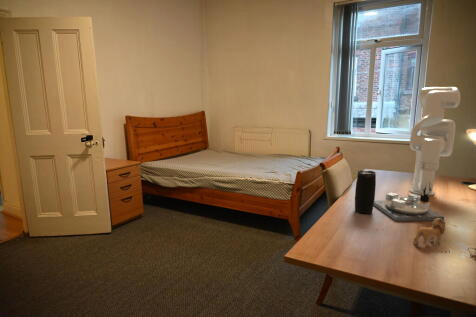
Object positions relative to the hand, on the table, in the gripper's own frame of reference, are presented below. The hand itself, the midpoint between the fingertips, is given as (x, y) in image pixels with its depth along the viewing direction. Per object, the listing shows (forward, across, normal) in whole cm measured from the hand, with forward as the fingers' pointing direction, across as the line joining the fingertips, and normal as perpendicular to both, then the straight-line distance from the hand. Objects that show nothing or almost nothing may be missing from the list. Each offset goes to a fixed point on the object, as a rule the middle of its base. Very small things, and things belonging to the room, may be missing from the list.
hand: (423, 203), depth 143 cm
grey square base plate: (+5, +1, -7) cm, 9 cm away
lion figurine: (+5, +34, -2) cm, 34 cm away
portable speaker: (+5, +9, -25) cm, 27 cm away
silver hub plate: (+3, +1, -7) cm, 8 cm away
